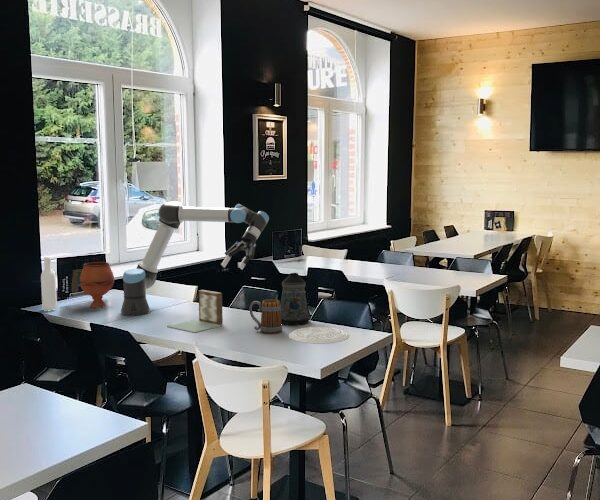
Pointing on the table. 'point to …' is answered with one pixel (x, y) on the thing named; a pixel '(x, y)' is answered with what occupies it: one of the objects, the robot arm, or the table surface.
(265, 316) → the mug
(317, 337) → the ceiling medallion
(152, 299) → the table surface
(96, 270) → the goblet
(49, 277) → the bottle
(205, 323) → the mat
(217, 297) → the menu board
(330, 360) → the table surface
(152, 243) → the robot arm
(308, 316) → the beer stein
